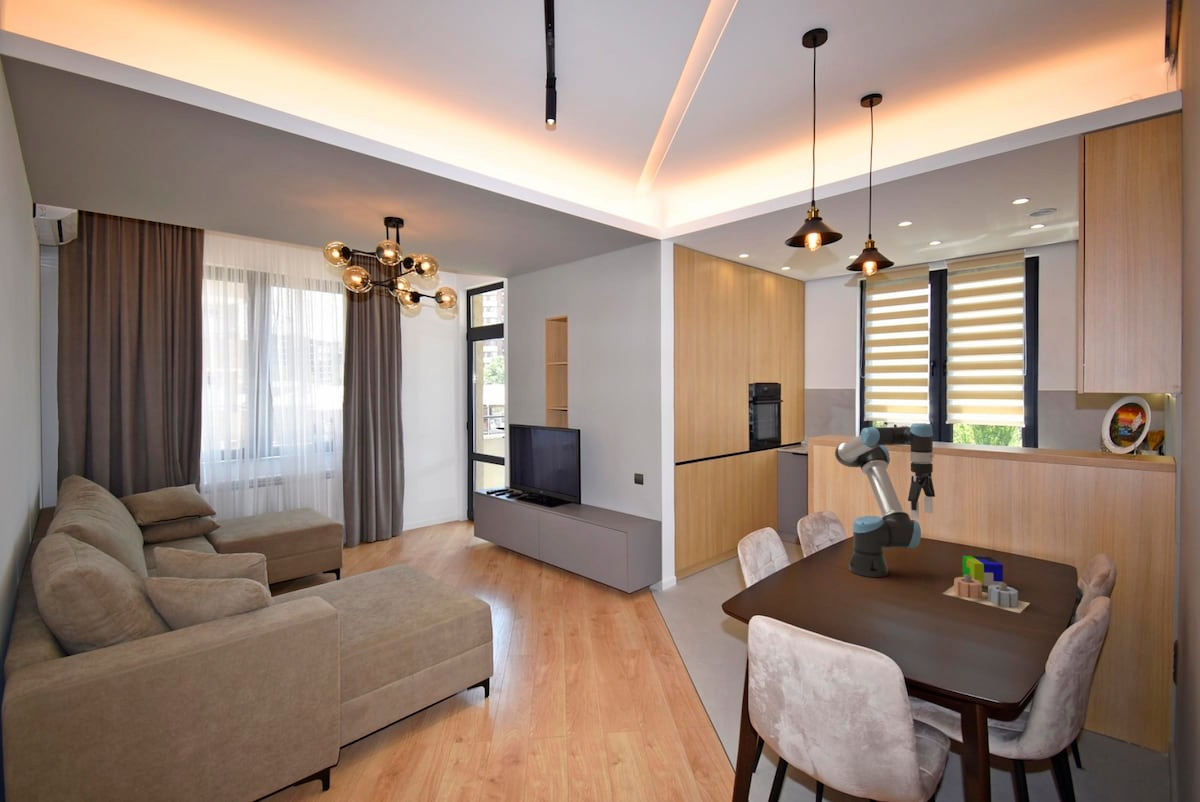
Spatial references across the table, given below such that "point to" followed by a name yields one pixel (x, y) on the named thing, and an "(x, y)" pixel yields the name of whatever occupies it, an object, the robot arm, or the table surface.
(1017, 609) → the gear board
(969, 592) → the loose gear
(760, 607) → the table surface
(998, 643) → the table surface
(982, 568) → the puzzle toy
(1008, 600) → the gear
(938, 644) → the table surface
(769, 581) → the table surface
